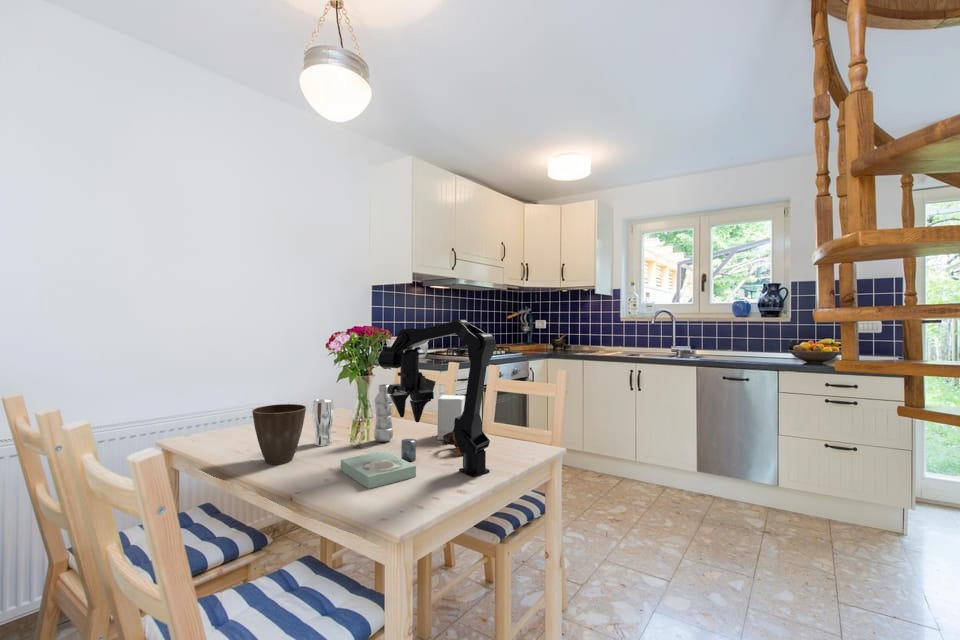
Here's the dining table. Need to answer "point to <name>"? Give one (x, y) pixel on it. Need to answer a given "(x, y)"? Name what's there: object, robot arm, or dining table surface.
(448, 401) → the supplement box
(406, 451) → the dark metal cylinder
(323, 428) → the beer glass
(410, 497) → the dining table surface
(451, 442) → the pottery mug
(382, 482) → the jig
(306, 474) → the dining table surface
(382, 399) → the plastic bottle
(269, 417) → the plant pot
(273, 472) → the dining table surface
